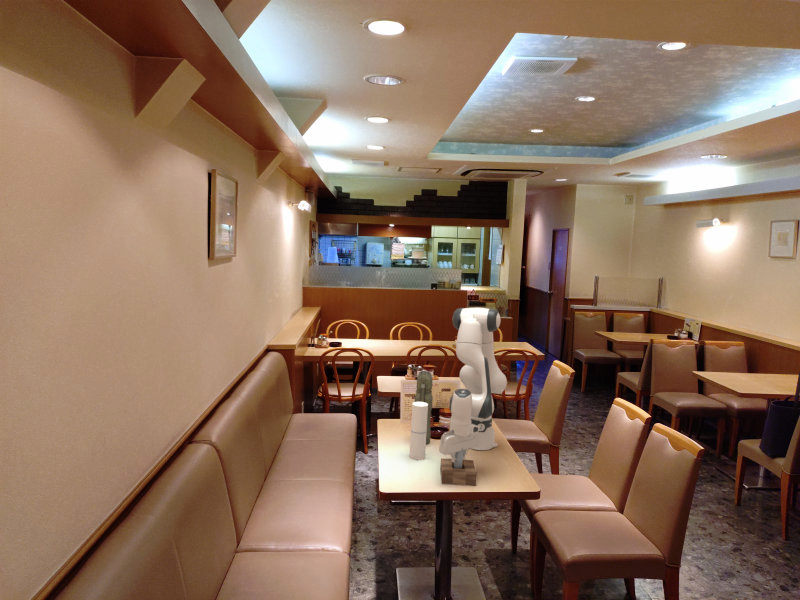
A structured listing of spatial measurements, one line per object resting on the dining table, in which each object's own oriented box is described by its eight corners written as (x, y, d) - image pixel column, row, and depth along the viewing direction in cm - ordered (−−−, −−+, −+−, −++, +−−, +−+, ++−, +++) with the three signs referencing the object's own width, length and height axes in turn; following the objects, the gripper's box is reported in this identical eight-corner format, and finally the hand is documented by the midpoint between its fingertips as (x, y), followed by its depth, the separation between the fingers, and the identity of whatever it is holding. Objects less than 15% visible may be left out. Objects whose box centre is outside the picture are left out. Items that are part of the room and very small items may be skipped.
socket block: (440, 469, 237) (440, 458, 236) (472, 471, 237) (473, 460, 236) (441, 483, 223) (442, 472, 222) (475, 485, 223) (476, 474, 222)
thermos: (411, 445, 262) (415, 374, 258) (412, 436, 274) (416, 368, 270) (430, 446, 262) (434, 376, 258) (430, 437, 274) (434, 370, 270)
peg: (451, 472, 231) (453, 445, 229) (459, 471, 232) (461, 444, 230) (455, 476, 227) (457, 448, 226) (462, 475, 228) (464, 448, 227)
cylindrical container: (407, 458, 247) (410, 404, 244) (412, 452, 254) (415, 400, 251) (421, 461, 244) (425, 407, 242) (427, 455, 251) (430, 403, 248)
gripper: (447, 435, 218) (445, 468, 220) (482, 426, 231) (480, 457, 233) (436, 430, 223) (434, 462, 225) (471, 422, 236) (469, 452, 238)
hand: (458, 460), depth 229 cm, fingers closed on peg, 4 cm apart
